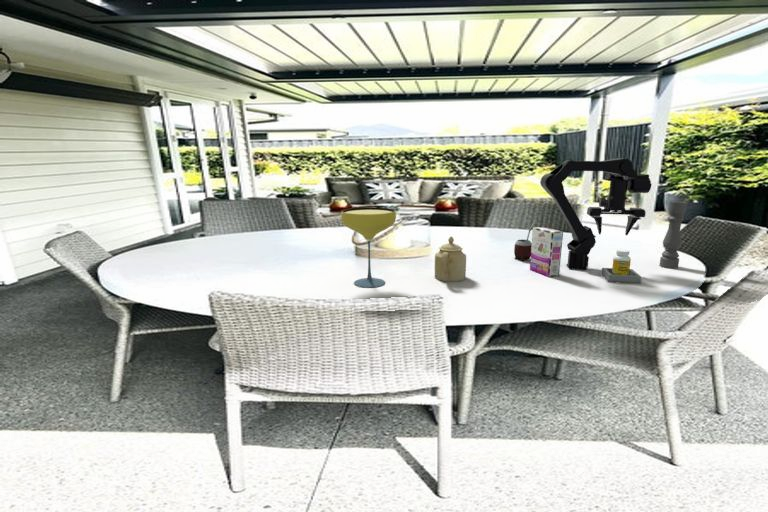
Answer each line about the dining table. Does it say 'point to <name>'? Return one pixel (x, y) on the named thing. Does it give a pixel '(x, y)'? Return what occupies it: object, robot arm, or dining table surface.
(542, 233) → the candy bar box
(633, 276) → the tray
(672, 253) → the candle holder
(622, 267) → the supplement bottle
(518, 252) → the mate gourd
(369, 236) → the cocktail glass
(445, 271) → the sugar bowl
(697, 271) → the dining table surface
